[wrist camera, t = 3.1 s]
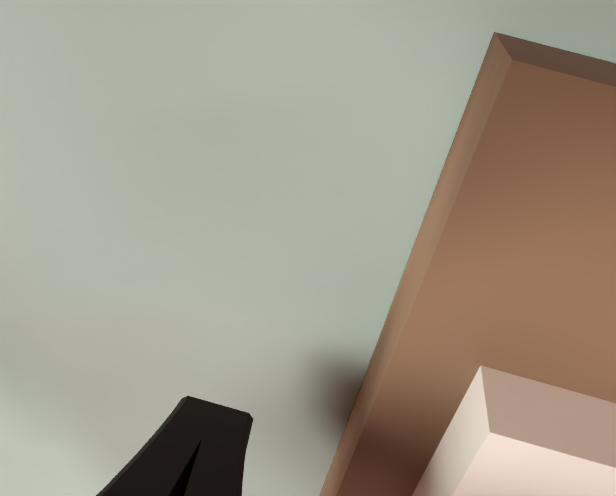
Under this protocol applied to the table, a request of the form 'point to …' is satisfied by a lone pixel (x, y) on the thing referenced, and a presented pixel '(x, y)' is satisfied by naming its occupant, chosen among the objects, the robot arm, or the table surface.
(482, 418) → the tile
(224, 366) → the table surface
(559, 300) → the deck
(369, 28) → the table surface
